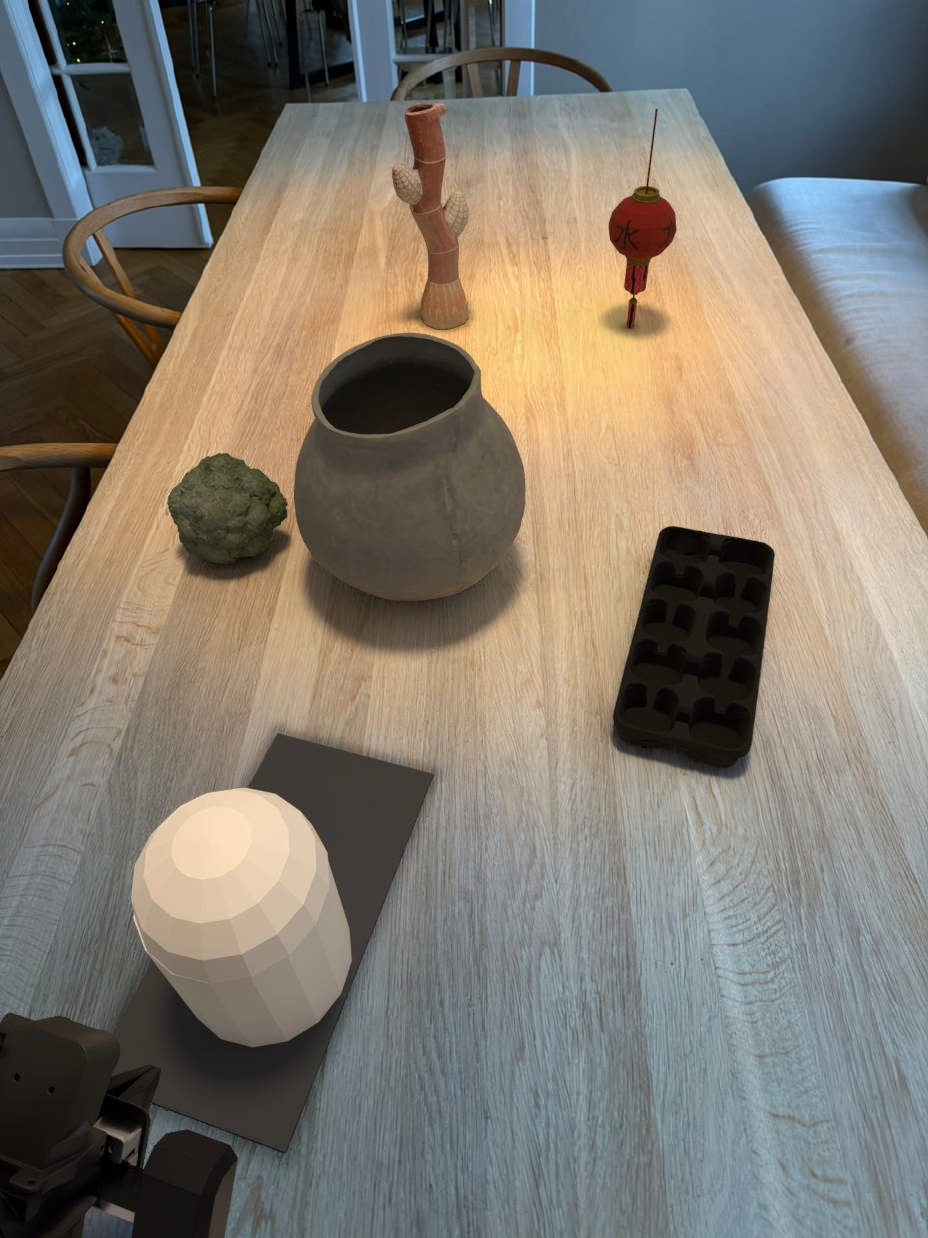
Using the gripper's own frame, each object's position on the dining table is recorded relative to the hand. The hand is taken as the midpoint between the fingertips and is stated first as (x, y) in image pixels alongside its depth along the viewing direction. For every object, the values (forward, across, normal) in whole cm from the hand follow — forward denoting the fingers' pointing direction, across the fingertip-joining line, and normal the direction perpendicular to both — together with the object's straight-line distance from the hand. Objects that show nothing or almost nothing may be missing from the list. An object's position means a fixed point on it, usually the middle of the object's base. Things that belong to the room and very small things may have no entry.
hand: (154, 1073), depth 55 cm
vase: (+85, +18, -70) cm, 112 cm away
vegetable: (+47, +26, -32) cm, 62 cm away
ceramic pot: (+48, +3, -33) cm, 59 cm away
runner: (+19, +1, -4) cm, 19 cm away
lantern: (+89, -11, -73) cm, 116 cm away
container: (+16, 0, -1) cm, 16 cm away
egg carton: (+46, -28, -30) cm, 62 cm away
